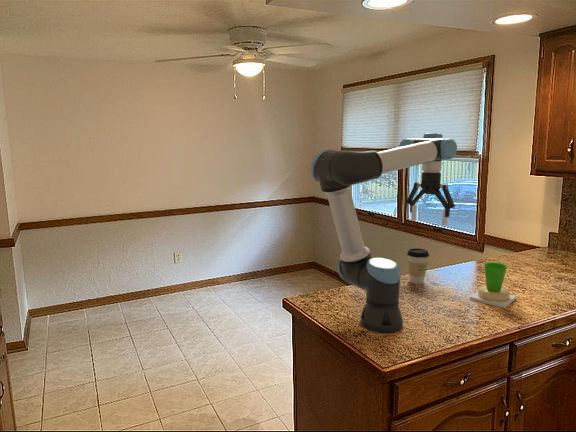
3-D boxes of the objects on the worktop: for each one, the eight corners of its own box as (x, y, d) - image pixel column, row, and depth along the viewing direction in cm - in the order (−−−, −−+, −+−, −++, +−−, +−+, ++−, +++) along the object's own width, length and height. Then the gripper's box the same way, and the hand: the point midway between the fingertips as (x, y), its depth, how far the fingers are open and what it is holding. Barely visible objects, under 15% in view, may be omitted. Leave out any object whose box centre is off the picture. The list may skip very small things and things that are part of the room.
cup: (500, 287, 189) (502, 262, 187) (509, 294, 180) (511, 268, 178) (478, 286, 190) (480, 261, 188) (485, 294, 181) (487, 268, 179)
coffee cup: (430, 285, 203) (432, 253, 200) (408, 285, 203) (410, 253, 200) (424, 278, 213) (425, 247, 210) (403, 278, 213) (405, 247, 210)
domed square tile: (505, 308, 176) (505, 299, 175) (469, 299, 185) (470, 290, 185) (516, 298, 186) (517, 290, 185) (482, 290, 195) (482, 282, 195)
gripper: (465, 172, 175) (462, 225, 179) (408, 169, 192) (405, 217, 196) (457, 173, 170) (454, 228, 174) (399, 170, 187) (397, 220, 190)
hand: (428, 222), depth 185 cm, fingers open, 13 cm apart
